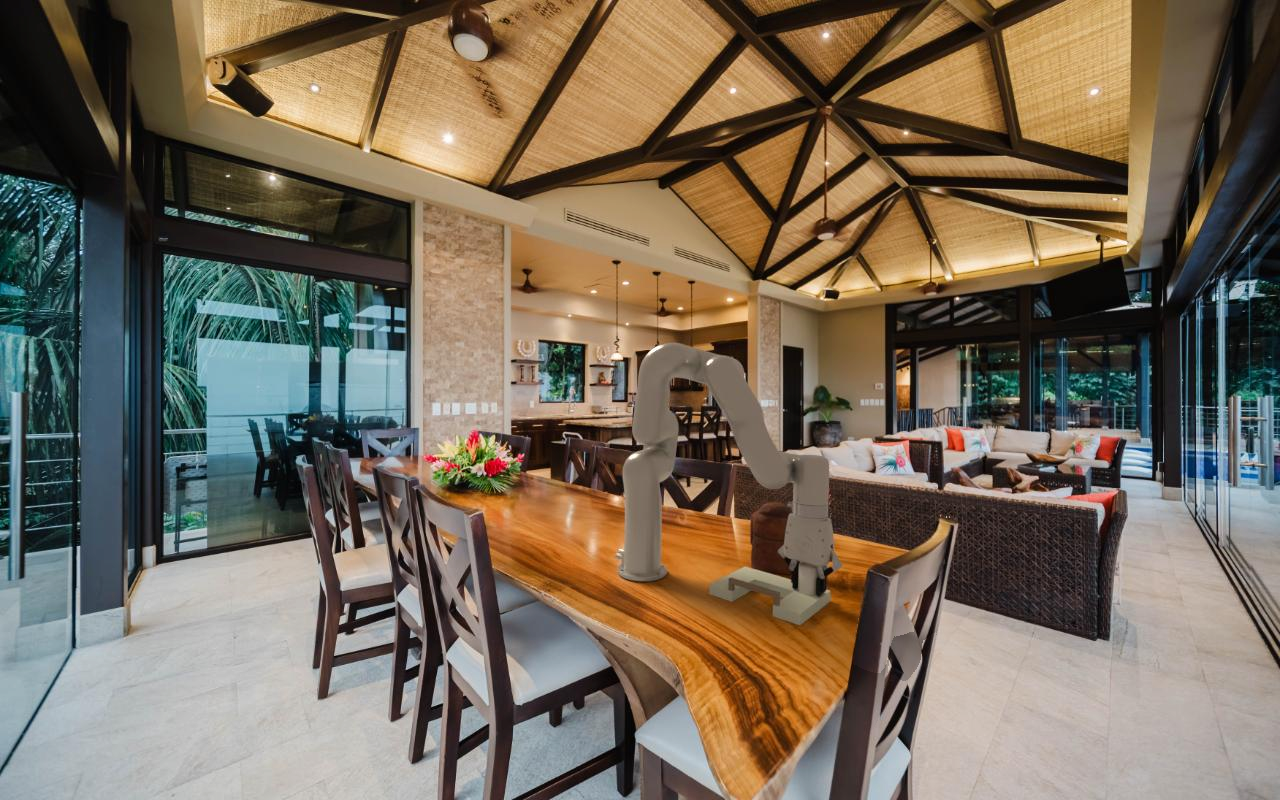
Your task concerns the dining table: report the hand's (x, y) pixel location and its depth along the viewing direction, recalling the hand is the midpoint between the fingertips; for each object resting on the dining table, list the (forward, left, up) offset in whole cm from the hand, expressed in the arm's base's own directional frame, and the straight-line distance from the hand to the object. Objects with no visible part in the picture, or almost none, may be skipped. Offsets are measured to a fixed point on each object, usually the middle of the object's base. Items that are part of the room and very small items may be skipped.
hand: (808, 589), depth 112 cm
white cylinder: (0, 0, 0) cm, 0 cm away
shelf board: (-8, -4, -3) cm, 9 cm away
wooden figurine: (-16, +13, -3) cm, 20 cm away
